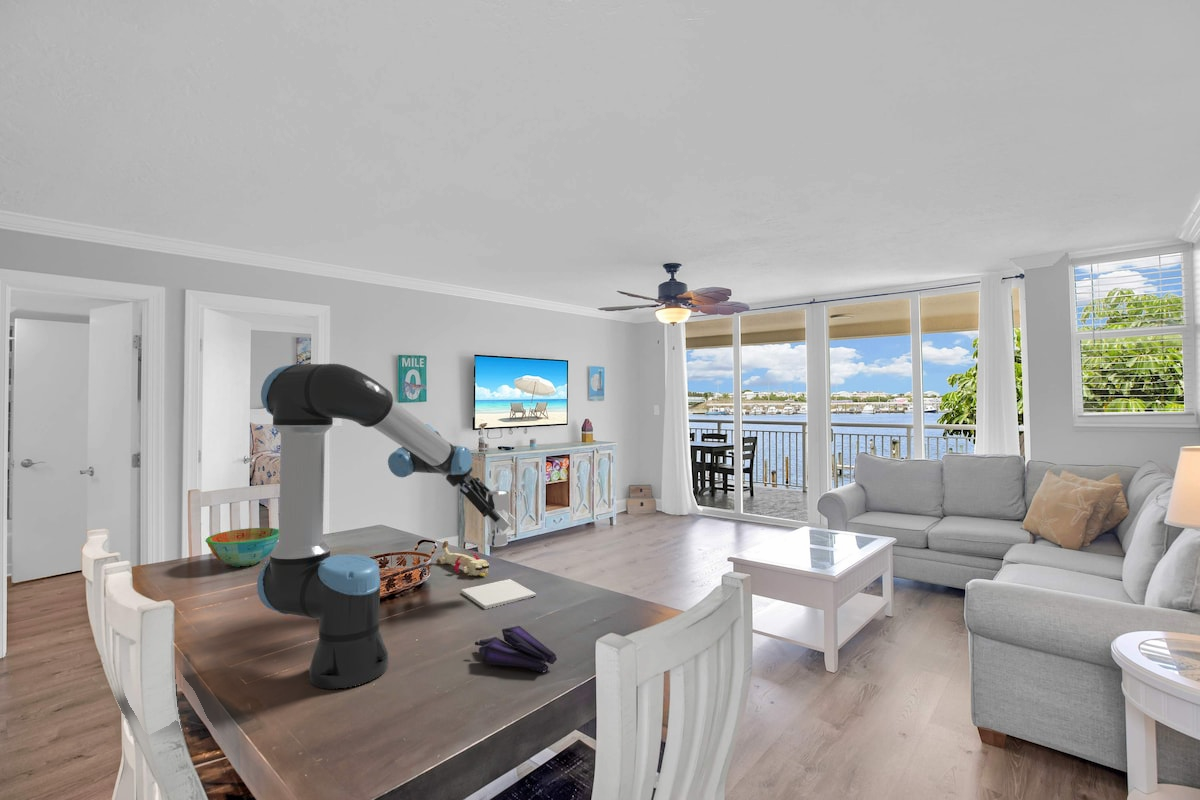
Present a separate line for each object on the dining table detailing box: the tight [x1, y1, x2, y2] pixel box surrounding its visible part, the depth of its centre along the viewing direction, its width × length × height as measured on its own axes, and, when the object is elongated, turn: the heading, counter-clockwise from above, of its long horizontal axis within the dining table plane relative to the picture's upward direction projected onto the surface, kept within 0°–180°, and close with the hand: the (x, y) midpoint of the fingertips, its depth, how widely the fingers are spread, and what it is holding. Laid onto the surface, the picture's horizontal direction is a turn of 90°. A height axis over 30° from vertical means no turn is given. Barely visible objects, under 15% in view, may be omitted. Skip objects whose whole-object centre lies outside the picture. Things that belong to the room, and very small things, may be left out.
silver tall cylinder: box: [485, 490, 510, 547], centre depth 165 cm, size 7×7×15 cm
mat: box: [460, 578, 537, 610], centre depth 165 cm, size 16×16×1 cm
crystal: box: [474, 625, 558, 673], centre depth 124 cm, size 7×12×20 cm
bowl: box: [205, 527, 279, 568], centre depth 195 cm, size 22×22×10 cm
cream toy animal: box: [435, 540, 490, 577], centre depth 189 cm, size 10×9×25 cm
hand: (509, 525), depth 165 cm, fingers closed on silver tall cylinder, 7 cm apart
